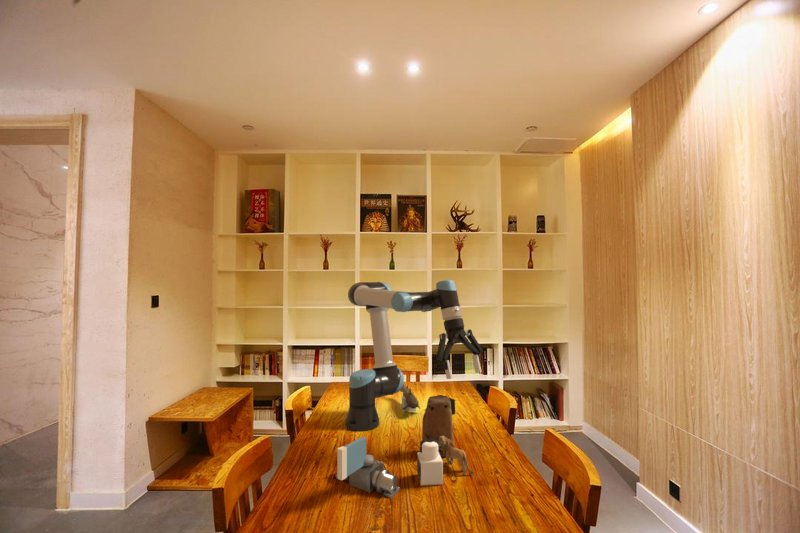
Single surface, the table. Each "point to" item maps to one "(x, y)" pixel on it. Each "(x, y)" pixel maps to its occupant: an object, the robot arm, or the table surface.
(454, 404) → the digital camera
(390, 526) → the table surface
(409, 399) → the wood carving
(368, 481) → the valve
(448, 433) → the brown rough block
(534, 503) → the table surface
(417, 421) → the table surface
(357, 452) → the lever
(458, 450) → the lion figurine
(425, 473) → the medicine bottle
